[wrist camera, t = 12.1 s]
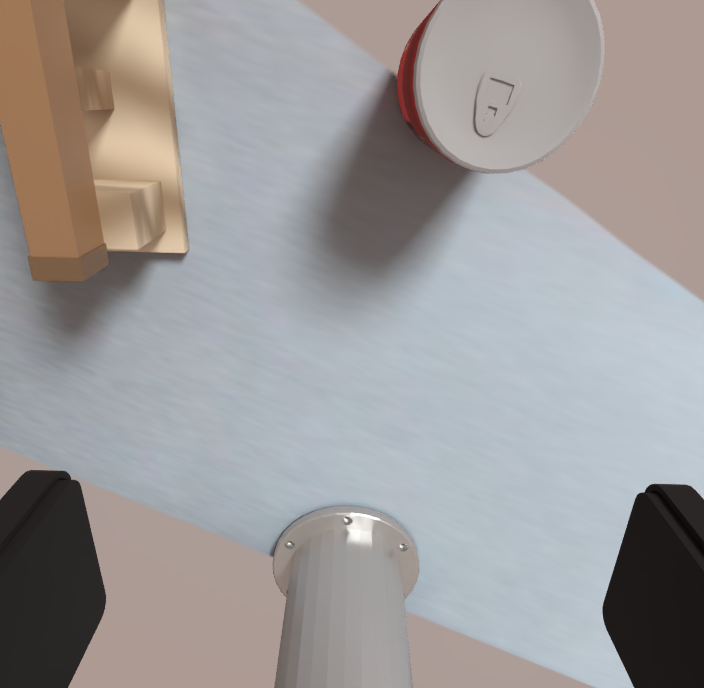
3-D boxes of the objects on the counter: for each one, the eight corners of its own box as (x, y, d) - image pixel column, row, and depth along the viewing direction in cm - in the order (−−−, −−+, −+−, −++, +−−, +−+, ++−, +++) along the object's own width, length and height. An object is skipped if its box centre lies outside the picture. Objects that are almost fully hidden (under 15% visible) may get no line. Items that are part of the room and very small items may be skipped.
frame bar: (-22, -153, 23) (-76, -187, 20) (40, -151, 23) (-5, -186, 20) (62, 263, 30) (33, 280, 27) (109, 264, 30) (84, 281, 27)
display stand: (189, 249, 36) (159, 276, 31) (68, 246, 36) (17, 272, 30) (152, -110, 28) (103, -160, 23) (-3, -115, 28) (-89, -166, 23)
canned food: (392, 151, 33) (408, 174, 23) (399, -1, 30) (421, -49, 20) (516, 153, 33) (585, 177, 23) (536, 1, 30) (627, -46, 20)
